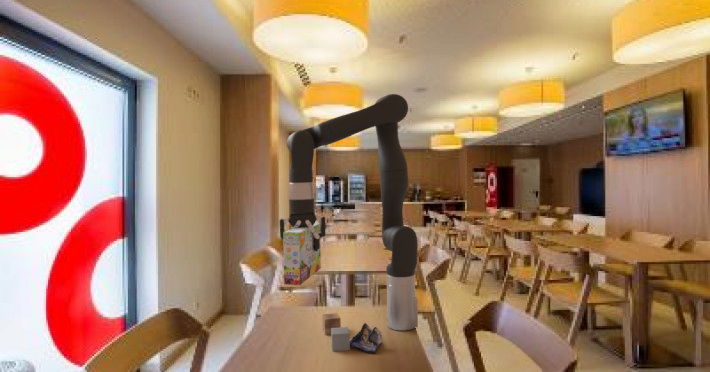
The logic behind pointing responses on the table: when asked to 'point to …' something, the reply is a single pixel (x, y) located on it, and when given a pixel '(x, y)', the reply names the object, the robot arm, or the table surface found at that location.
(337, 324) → the walnut block
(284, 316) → the table surface
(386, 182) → the robot arm
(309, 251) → the snack box
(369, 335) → the snack package
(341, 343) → the slate block
